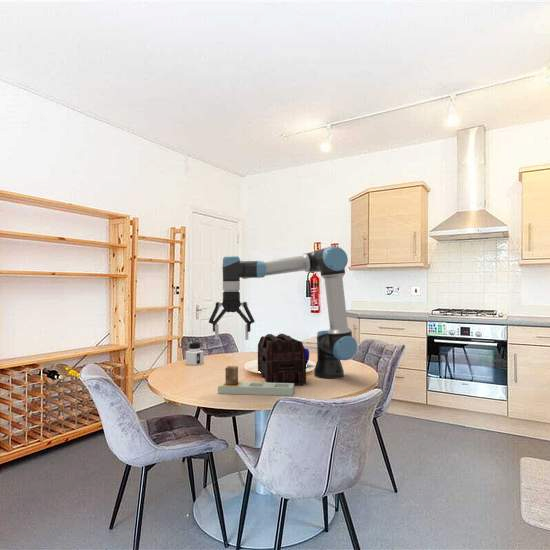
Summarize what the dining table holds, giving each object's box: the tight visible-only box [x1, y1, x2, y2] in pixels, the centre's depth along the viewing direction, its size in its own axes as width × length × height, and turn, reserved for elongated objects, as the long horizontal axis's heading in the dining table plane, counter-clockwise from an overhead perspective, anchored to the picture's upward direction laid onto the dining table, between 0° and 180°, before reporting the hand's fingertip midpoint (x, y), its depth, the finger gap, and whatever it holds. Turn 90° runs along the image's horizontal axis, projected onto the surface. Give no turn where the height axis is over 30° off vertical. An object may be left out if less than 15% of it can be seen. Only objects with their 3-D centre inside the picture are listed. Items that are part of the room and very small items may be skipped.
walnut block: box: [224, 365, 239, 386], centre depth 173 cm, size 4×4×9 cm
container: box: [185, 341, 205, 366], centre depth 237 cm, size 8×8×13 cm
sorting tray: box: [217, 380, 295, 397], centre depth 172 cm, size 32×9×3 cm, turn 82°
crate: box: [257, 333, 307, 387], centre depth 198 cm, size 35×19×21 cm, turn 12°
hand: (231, 339), depth 174 cm, fingers open, 13 cm apart
